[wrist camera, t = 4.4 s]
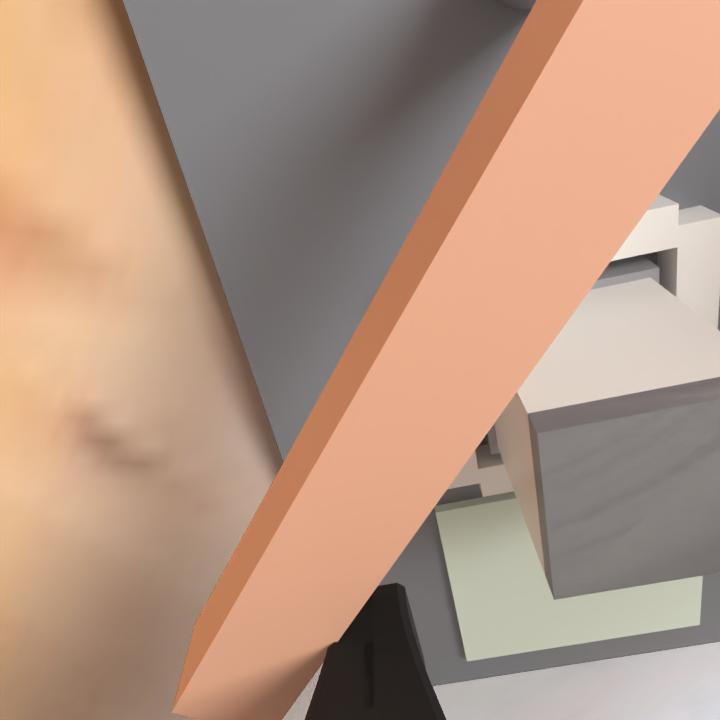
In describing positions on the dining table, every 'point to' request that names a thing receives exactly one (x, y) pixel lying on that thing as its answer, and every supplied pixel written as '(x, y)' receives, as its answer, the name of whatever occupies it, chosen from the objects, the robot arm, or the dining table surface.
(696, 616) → the fixture base plate
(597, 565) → the plug
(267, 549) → the retention clip
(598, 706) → the dining table surface
